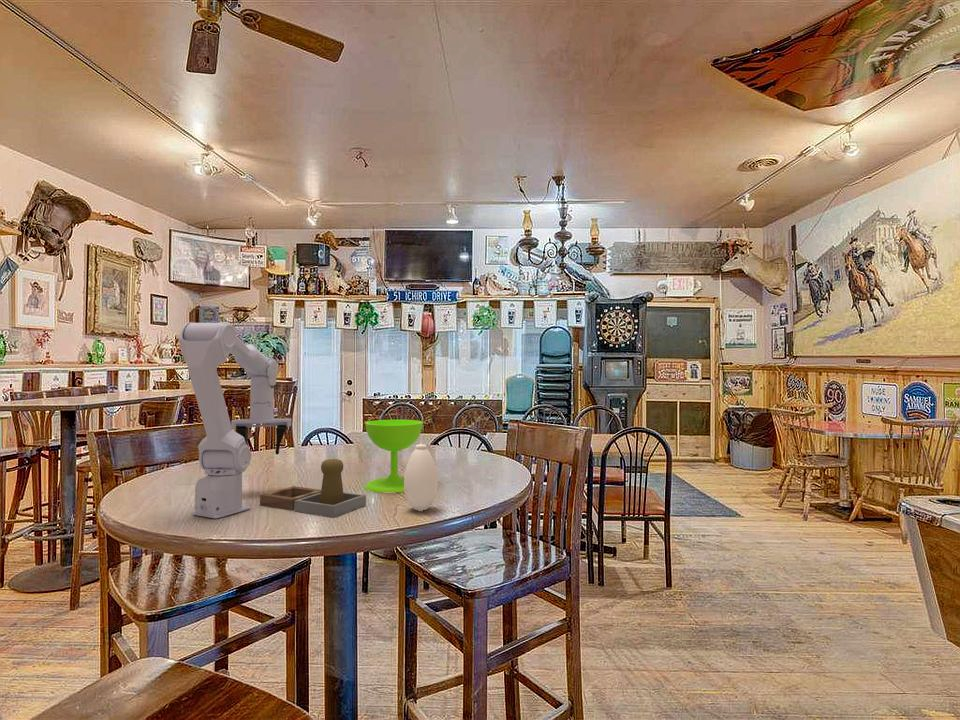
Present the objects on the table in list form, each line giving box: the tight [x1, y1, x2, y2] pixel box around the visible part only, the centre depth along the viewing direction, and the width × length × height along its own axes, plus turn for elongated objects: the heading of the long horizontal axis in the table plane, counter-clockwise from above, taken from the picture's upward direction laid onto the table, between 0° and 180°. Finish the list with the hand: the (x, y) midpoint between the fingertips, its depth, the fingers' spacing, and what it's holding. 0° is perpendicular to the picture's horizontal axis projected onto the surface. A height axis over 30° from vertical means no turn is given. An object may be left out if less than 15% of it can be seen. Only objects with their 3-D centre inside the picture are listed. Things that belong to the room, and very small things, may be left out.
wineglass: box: [364, 419, 424, 493], centre depth 150 cm, size 16×16×18 cm
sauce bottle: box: [403, 433, 439, 512], centre depth 126 cm, size 8×8×18 cm
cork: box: [319, 458, 344, 505], centre depth 128 cm, size 6×6×11 cm
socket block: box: [259, 485, 321, 511], centre depth 132 cm, size 11×11×2 cm
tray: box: [293, 491, 367, 518], centre depth 127 cm, size 12×12×2 cm
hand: (261, 454), depth 141 cm, fingers open, 7 cm apart
